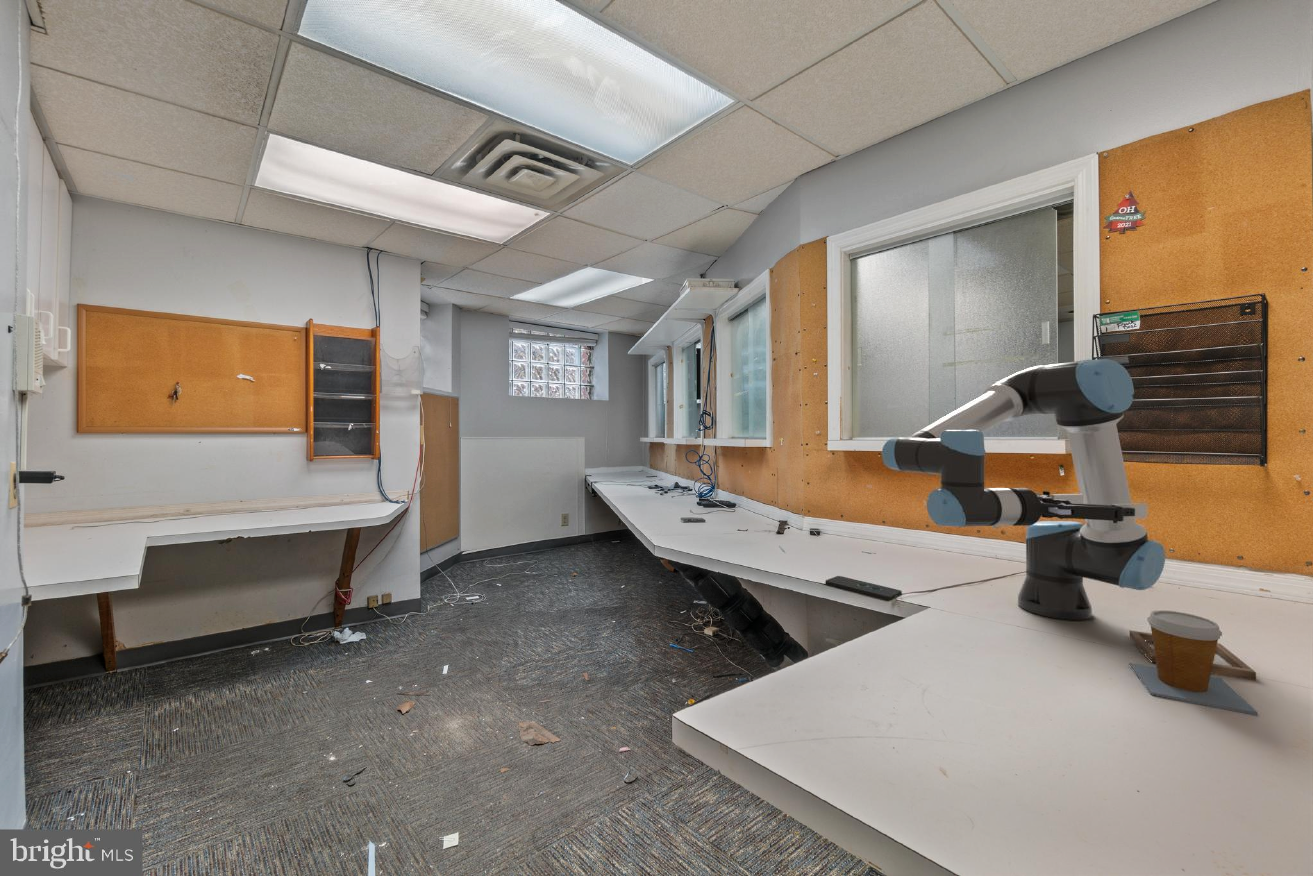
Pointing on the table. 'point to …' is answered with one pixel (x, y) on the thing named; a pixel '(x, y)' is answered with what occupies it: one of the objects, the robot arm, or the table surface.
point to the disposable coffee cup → (1184, 648)
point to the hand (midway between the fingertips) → (1111, 505)
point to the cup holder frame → (1234, 670)
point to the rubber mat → (1214, 696)
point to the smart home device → (864, 588)
